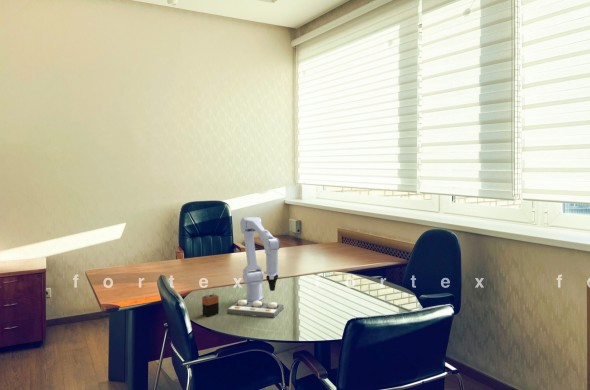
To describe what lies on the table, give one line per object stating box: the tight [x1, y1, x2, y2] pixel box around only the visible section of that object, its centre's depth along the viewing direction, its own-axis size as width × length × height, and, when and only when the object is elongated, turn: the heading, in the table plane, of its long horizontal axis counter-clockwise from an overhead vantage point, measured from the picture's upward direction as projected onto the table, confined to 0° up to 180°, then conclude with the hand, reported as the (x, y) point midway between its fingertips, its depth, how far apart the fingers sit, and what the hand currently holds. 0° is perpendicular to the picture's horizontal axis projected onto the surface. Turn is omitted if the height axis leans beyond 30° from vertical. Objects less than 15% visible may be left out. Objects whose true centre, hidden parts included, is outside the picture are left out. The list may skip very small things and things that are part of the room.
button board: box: [227, 301, 284, 319], centre depth 235 cm, size 14×24×2 cm, turn 73°
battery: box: [201, 292, 220, 318], centre depth 230 cm, size 4×7×10 cm, turn 135°
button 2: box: [253, 300, 263, 308], centre depth 237 cm, size 4×4×2 cm
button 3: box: [268, 301, 278, 309], centre depth 235 cm, size 4×4×2 cm
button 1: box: [237, 299, 248, 306], centre depth 239 cm, size 4×4×2 cm
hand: (272, 290), depth 234 cm, fingers closed
